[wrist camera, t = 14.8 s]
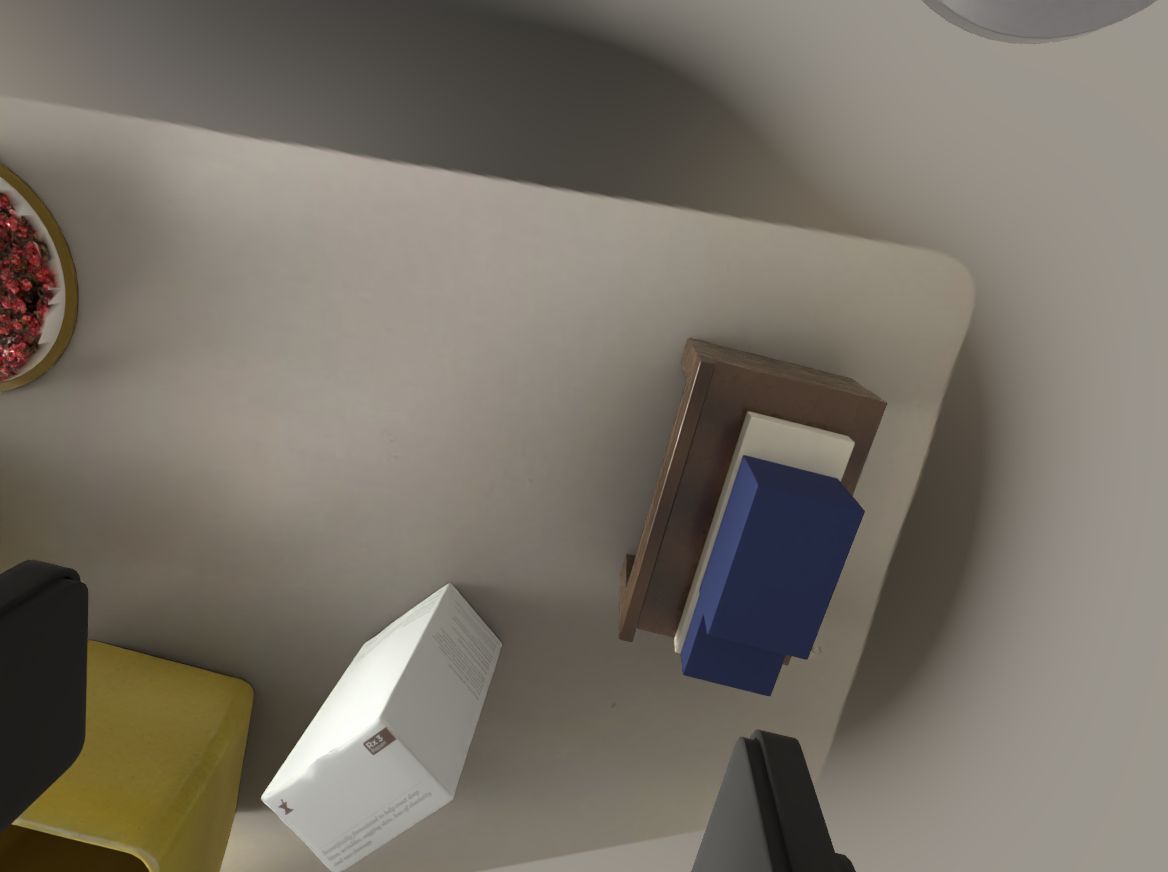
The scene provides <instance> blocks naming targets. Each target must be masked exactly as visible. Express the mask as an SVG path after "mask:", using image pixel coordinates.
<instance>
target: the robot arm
mask: <svg viewBox="0 0 1168 872" xmlns="http://www.w3.org/2000/svg"><path fill="white" fill-rule="evenodd" d="M87 640H88V588H87V586H86V584H84V583H82V582H80V576H79V574H78V573H77V571H75V570H73V569H71V568H67V567H62V566H58V565H54V564H49V563H45V562H41V561H37V560H27V561H24V562H22V563H19V564H18V565H16V566H14V567H12V568H10V569H9V570H7V571H5V572H3V573H1V574H0V834H1V833H2V832H3V831H4V830H5V829H6V828H8V827H9V826H10V825H11V824H12V823H13V822H14V821H15V820H16V819H17V818H18V817H19V816H20V815H21V814H22V813H23V812H24V811H25V810H26V809H27V808H28V807H29V806H30V805H31V804H32V803H33V802H35V801H36V800H37V799H38V798H39V797H40V796H41V795H42V794H43V793H44V792H45V791H46V790H47V789H48V788H49V787H50V786H51V785H52V784H53V783H54V782H55V781H56V780H57V779H58V778H59V777H61V776H62V775H63V774H64V773H65V772H66V771H67V770H68V769H69V768H70V767H71V766H72V764H73V763H74V762H75V761H76V759H77V758H78V756H79V754H80V752H81V750H82V748H83V745H84V742H85V736H86V689H87ZM691 872H856V871H855V869H854V867H853V865H852V863H851V861H850V860H849V859H848V858H847V857H846V856H845V855H842V854H838V853H835V851H834V848H833V845H832V842H831V839H830V836H829V833H828V830H827V827H826V823H825V820H824V817H823V814H822V811H821V808H820V805H819V802H818V799H817V796H816V793H815V789H814V786H813V783H812V780H811V777H810V774H809V771H808V768H807V764H806V761H805V758H804V755H803V752H802V749H801V746H800V744H799V742H798V740H797V739H795V738H792V737H788V736H783V735H779V734H775V733H771V732H766V731H762V730H755V731H754V732H753V733H752V735H751V737H750V739H748V738H744V737H740V738H739V739H738V740H737V743H736V745H735V748H734V750H733V753H732V756H731V759H730V762H729V765H728V768H727V771H726V773H725V776H724V779H723V782H722V785H721V788H720V791H719V794H718V796H717V799H716V802H715V805H714V808H713V811H712V814H711V817H710V819H709V822H708V825H707V828H706V831H705V834H704V837H703V840H702V843H701V845H700V848H699V851H698V854H697V857H696V860H695V863H694V866H693V868H692V871H691Z"/></svg>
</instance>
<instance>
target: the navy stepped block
mask: <svg viewBox="0 0 1168 872" xmlns="http://www.w3.org/2000/svg"><path fill="white" fill-rule="evenodd" d="M854 444H855V442H854V441H853V440H852V439H850V438H849V437H848V436H845V435H841V434H838V433H834V432H830V431H826V430H822V429H818V428H814V427H810V426H806V425H802V424H798V423H794V422H790V421H786V420H782V419H778V418H774V417H770V416H766V415H762V414H758V413H754V412H750V411H747V414H746V417H745V420H744V423H743V426H742V429H741V432H740V436H739V439H738V442H737V445H736V448H735V451H734V454H733V457H732V461H731V464H730V467H729V470H728V473H727V476H726V479H725V482H724V486H723V489H722V492H721V495H720V498H719V501H718V504H717V507H716V511H715V514H714V517H713V520H712V523H711V526H710V529H709V532H708V535H707V539H706V542H705V545H704V548H703V551H702V554H701V557H700V560H699V564H698V567H697V570H696V573H695V576H694V579H693V582H692V585H691V589H690V592H689V595H688V598H687V601H686V604H685V607H684V610H683V613H682V617H681V620H680V623H679V626H678V629H677V632H676V635H675V638H674V646H675V652H677V653H680V654H681V662H682V671H683V675H685V676H689V677H693V678H697V679H701V680H705V681H709V682H713V683H717V684H721V685H725V686H730V687H734V688H738V689H742V690H746V691H750V692H754V693H758V694H762V695H766V696H771V693H772V691H773V688H774V685H775V683H776V680H777V677H778V675H779V672H780V669H781V667H782V664H783V661H784V659H785V656H786V655H790V656H794V657H798V658H802V659H806V660H807V659H808V657H809V654H810V652H811V649H812V646H813V644H814V641H815V639H816V636H817V634H818V631H819V628H820V626H821V623H822V621H823V618H824V615H825V613H826V610H827V608H828V605H829V603H830V600H831V597H832V595H833V592H834V590H835V587H836V584H837V582H838V579H839V577H840V574H841V572H842V569H843V566H844V564H845V561H846V559H847V556H848V553H849V551H850V548H851V546H852V543H853V541H854V538H855V535H856V533H857V530H858V528H859V525H860V522H861V520H862V517H863V515H864V512H865V511H864V510H863V508H862V507H861V506H860V505H859V504H858V502H857V501H856V500H855V499H854V498H853V496H852V495H851V494H850V493H849V492H848V490H847V489H846V488H845V487H844V486H843V484H842V483H841V479H842V477H843V474H844V471H845V469H846V466H847V463H848V461H849V458H850V455H851V452H852V450H853V447H854Z"/></svg>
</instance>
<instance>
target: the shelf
mask: <svg viewBox="0 0 1168 872" xmlns="http://www.w3.org/2000/svg"><path fill="white" fill-rule="evenodd" d="M681 364H682V367H683V370H684V372H685V375H686V378H687V382H686V385H685V389H684V392H683V395H682V399H681V402H680V406H679V409H678V413H677V416H676V419H675V423H674V426H673V430H672V433H671V437H670V440H669V444H668V447H667V450H666V454H665V457H664V461H663V464H662V468H661V471H660V474H659V478H658V481H657V485H656V488H655V492H654V495H653V498H652V502H651V505H650V509H649V512H648V516H647V519H646V523H645V526H644V529H643V533H642V536H641V540H640V543H639V547H638V550H637V553H636V556H633V555H629V554H626V557H625V560H624V564H623V567H622V571H621V574H620V602H619V639H620V640H625V641H629V642H632V641H633V638H634V635H635V631H636V628H638V629H642V630H646V631H650V632H654V633H658V634H662V635H666V636H670V637H674V638H675V635H676V632H677V629H678V626H679V623H680V620H681V617H682V613H683V610H684V607H685V604H686V601H687V598H688V595H689V592H690V589H691V585H692V582H693V579H694V576H695V573H696V570H697V567H698V564H699V560H700V557H701V554H702V551H703V548H704V545H705V542H706V539H707V535H708V532H709V529H710V526H711V523H712V520H713V517H714V514H715V511H716V507H717V504H718V501H719V498H720V495H721V492H722V489H723V486H724V482H725V479H726V476H727V473H728V470H729V467H730V464H731V461H732V457H733V454H734V451H735V448H736V445H737V442H738V439H739V436H740V432H741V429H742V426H743V423H744V420H745V417H746V414H747V411H750V412H754V413H758V414H762V415H766V416H770V417H774V418H778V419H782V420H786V421H790V422H794V423H798V424H802V425H806V426H810V427H814V428H818V429H822V430H826V431H830V432H834V433H838V434H841V435H845V436H848V437H849V438H850V439H852V440H853V441H854V442H855V444H854V447H853V450H852V452H851V455H850V458H849V461H848V463H847V466H846V469H845V471H844V474H843V477H842V479H841V483H842V484H843V486H844V487H845V488H846V489H847V490H848V492H849V493H850V494H851V495H853V492H854V490H855V487H856V484H857V482H858V479H859V476H860V474H861V471H862V469H863V466H864V463H865V461H866V458H867V455H868V453H869V450H870V447H871V445H872V442H873V440H874V437H875V434H876V432H877V429H878V426H879V424H880V421H881V418H882V416H883V413H884V411H885V408H886V405H887V402H885V401H884V400H882V399H881V398H879V397H878V396H877V395H875V394H874V393H872V392H871V391H869V390H868V389H866V388H865V387H863V386H862V385H860V384H859V383H857V382H856V381H854V380H853V379H851V378H847V377H843V376H839V375H835V374H831V373H827V372H823V371H819V370H815V369H811V368H807V367H803V366H799V365H795V364H791V363H787V362H783V361H779V360H775V359H771V358H767V357H764V356H760V355H756V354H752V353H748V352H744V351H740V350H736V349H732V348H728V347H724V346H720V345H716V344H712V343H708V342H704V341H700V340H696V339H692V338H688V340H687V344H686V347H685V351H684V354H683V358H682V361H681ZM790 658H791V656H790V655H786V656H785V659H784V661H783V665H788V664H789V661H790Z"/></svg>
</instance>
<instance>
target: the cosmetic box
mask: <svg viewBox="0 0 1168 872" xmlns="http://www.w3.org/2000/svg"><path fill="white" fill-rule="evenodd" d="M501 648H502V643H501V642H500V640H499V639H498V638H497V637H496V635H495V634H494V633H493V632H492V631H491V630H490V628H489V627H488V626H487V625H486V624H485V623H484V621H483V620H482V619H481V618H480V617H479V615H478V614H477V613H476V612H475V611H474V610H473V608H472V607H471V606H470V605H469V604H468V602H467V601H466V600H465V599H464V598H463V597H462V595H461V594H460V593H459V592H458V591H457V590H456V588H455V587H454V586H453V585H452V584H451V583H449V584H447V585H445V586H444V587H442V588H441V589H439V590H438V591H436V592H435V593H433V594H432V595H431V596H429V597H428V598H426V599H425V600H424V601H422V602H421V603H419V604H418V605H417V606H415V607H414V608H412V609H411V610H409V611H408V612H407V613H405V614H404V615H403V616H401V617H400V618H398V619H397V620H396V621H394V622H393V623H391V624H390V625H389V626H388V627H386V628H385V629H384V630H383V631H382V632H380V633H379V634H378V635H376V636H375V637H373V638H372V639H370V640H369V641H367V642H366V643H364V645H363V646H362V648H361V649H360V651H359V652H358V654H357V655H356V656H355V658H354V659H353V661H352V662H351V664H350V665H349V667H348V668H347V670H346V671H345V673H344V674H343V676H342V677H341V679H340V680H339V682H338V683H337V685H336V686H335V688H334V689H333V691H332V692H331V693H330V695H329V696H328V698H327V699H326V701H325V702H324V704H323V705H322V707H321V708H320V710H319V711H318V713H317V714H316V716H315V717H314V719H313V720H312V722H311V723H310V725H309V726H308V728H307V729H306V731H305V732H304V734H303V735H302V737H301V738H300V740H299V741H298V743H297V744H296V746H295V747H294V749H293V750H292V752H291V753H290V755H289V756H288V757H287V759H286V760H285V762H284V763H283V765H282V766H281V768H280V769H279V771H278V772H277V774H276V775H275V777H274V778H273V780H272V781H271V783H270V784H269V786H268V787H267V789H266V790H265V792H264V793H263V795H262V797H261V800H262V801H263V802H264V803H265V804H266V805H267V806H268V807H269V808H270V809H271V810H272V811H273V812H274V813H275V814H276V815H277V816H278V817H279V818H280V819H281V820H282V821H283V822H284V823H285V824H286V825H287V826H288V827H289V828H290V829H291V830H292V831H293V832H294V833H295V834H296V835H297V836H298V837H299V838H300V839H301V840H302V841H303V842H304V843H305V844H306V845H307V846H308V847H309V848H310V849H311V850H312V851H313V852H314V854H315V855H316V856H317V857H318V858H319V859H320V860H321V861H322V862H323V864H324V865H325V866H326V867H327V868H328V869H329V870H331V871H332V872H342V871H344V870H345V869H347V868H348V867H350V866H352V865H353V864H355V863H356V862H358V861H359V860H361V859H362V858H364V857H366V856H367V855H369V854H370V853H372V852H373V851H375V850H376V849H378V848H380V847H381V846H383V845H384V844H386V843H387V842H389V841H390V840H392V839H394V838H395V837H397V836H398V835H400V834H401V833H403V832H404V831H406V830H407V829H409V828H411V827H412V826H414V825H415V824H417V823H418V822H420V821H421V820H423V819H424V818H426V817H427V816H429V815H431V814H432V813H434V812H435V811H437V810H438V809H440V808H441V807H443V806H444V805H446V804H448V803H449V802H451V801H452V800H453V798H454V795H455V791H456V788H457V785H458V782H459V778H460V775H461V772H462V769H463V766H464V763H465V759H466V756H467V753H468V750H469V747H470V744H471V741H472V738H473V735H474V732H475V729H476V726H477V723H478V720H479V717H480V714H481V710H482V707H483V704H484V701H485V698H486V695H487V692H488V689H489V686H490V683H491V679H492V676H493V673H494V670H495V667H496V664H497V660H498V657H499V654H500V651H501Z"/></svg>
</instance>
